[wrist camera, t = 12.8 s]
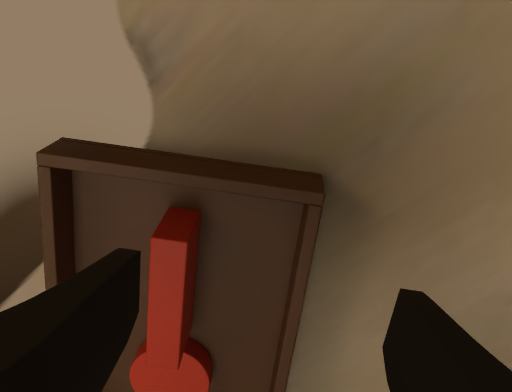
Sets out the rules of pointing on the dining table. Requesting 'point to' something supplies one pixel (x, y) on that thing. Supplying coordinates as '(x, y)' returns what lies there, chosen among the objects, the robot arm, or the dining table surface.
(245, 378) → the tray
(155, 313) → the red block with disc
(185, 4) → the dining table surface
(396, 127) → the dining table surface
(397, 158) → the dining table surface
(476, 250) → the dining table surface
